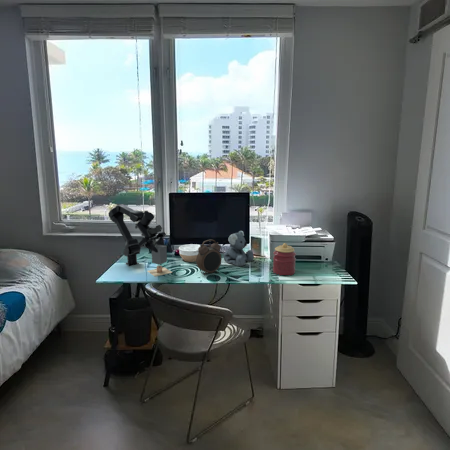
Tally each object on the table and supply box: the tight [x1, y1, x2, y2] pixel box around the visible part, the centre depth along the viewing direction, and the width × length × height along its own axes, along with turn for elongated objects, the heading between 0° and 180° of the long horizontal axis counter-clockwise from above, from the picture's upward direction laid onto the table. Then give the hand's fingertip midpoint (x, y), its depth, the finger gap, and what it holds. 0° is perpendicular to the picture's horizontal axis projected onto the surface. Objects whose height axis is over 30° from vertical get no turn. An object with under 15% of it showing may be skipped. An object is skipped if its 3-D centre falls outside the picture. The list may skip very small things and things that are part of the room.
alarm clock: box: [195, 239, 222, 276], centre depth 201 cm, size 15×7×20 cm, turn 126°
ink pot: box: [156, 265, 163, 273], centre depth 204 cm, size 3×3×3 cm
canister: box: [272, 242, 297, 276], centre depth 203 cm, size 13×13×18 cm
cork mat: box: [146, 266, 173, 278], centre depth 205 cm, size 11×11×1 cm
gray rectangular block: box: [151, 244, 168, 265], centre depth 202 cm, size 6×6×10 cm
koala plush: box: [223, 230, 255, 267], centre depth 223 cm, size 17×18×20 cm
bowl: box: [178, 243, 201, 263], centre depth 229 cm, size 16×16×8 cm
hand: (161, 250), depth 201 cm, fingers closed on gray rectangular block, 6 cm apart
